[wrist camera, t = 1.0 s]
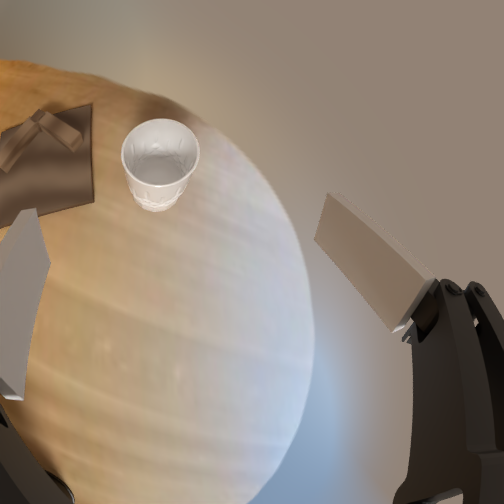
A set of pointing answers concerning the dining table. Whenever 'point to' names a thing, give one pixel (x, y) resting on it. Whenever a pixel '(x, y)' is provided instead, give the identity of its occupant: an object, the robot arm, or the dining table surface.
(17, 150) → the brown flat square slab
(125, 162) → the white cup
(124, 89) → the dining table surface
